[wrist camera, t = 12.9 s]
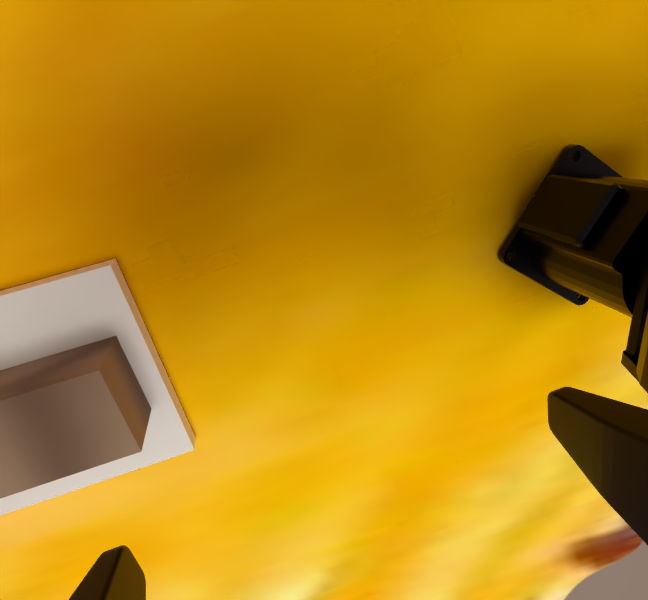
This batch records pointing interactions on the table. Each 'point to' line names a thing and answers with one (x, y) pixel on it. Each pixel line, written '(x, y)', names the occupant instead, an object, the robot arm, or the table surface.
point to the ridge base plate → (81, 329)
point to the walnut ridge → (68, 415)
